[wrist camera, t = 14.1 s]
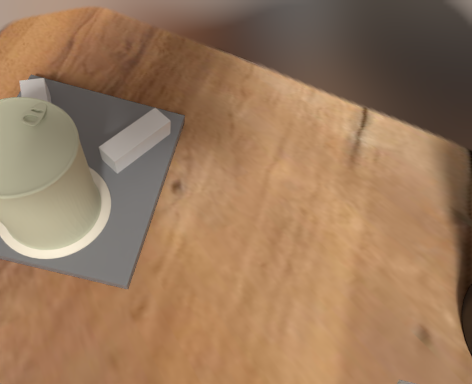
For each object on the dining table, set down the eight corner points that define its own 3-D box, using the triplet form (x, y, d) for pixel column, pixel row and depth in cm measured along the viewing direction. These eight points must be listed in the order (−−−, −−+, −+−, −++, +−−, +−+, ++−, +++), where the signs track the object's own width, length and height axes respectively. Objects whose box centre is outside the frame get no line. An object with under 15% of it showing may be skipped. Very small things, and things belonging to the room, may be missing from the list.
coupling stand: (184, 122, 48) (185, 102, 45) (128, 289, 38) (124, 279, 34) (34, 83, 47) (24, 58, 44) (-64, 243, 37) (-88, 228, 33)
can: (116, 183, 41) (98, 113, 30) (76, 263, 37) (39, 213, 26) (34, 157, 41) (-12, 77, 30) (-16, 233, 36) (-90, 170, 26)
